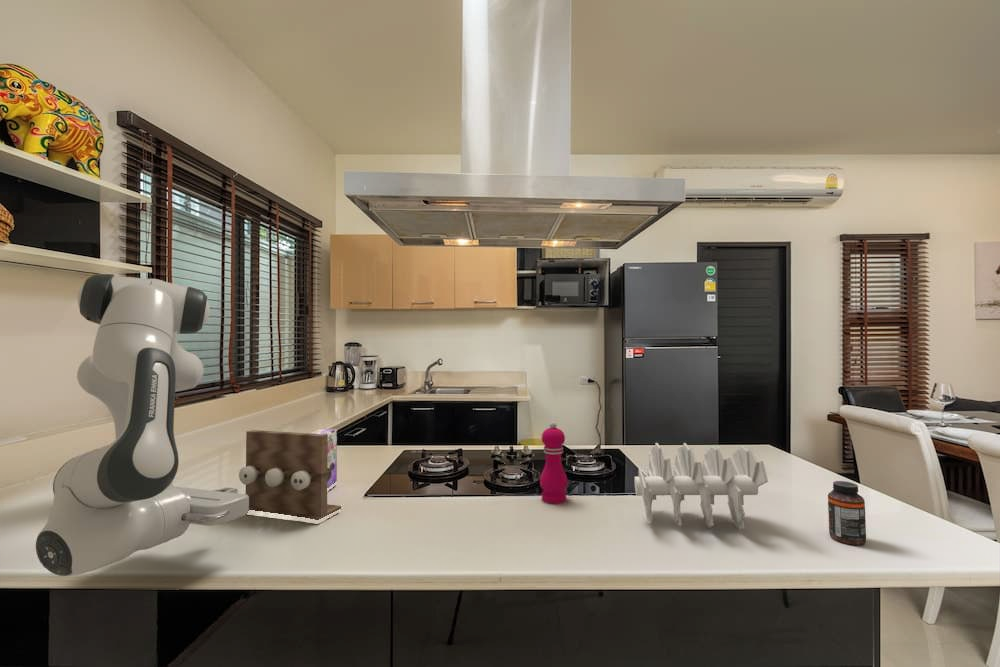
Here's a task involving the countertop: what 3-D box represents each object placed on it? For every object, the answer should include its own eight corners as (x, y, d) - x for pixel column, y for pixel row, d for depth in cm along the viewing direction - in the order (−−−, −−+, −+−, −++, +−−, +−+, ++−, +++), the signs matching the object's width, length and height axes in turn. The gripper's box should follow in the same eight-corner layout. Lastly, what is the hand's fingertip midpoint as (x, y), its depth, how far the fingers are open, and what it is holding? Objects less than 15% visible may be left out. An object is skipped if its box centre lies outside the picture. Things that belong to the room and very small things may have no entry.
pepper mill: (567, 495, 119) (566, 419, 120) (568, 504, 112) (567, 424, 113) (540, 494, 120) (539, 419, 121) (539, 503, 113) (538, 424, 113)
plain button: (264, 486, 102) (265, 468, 103) (283, 479, 108) (283, 462, 108) (279, 487, 101) (279, 470, 101) (296, 480, 106) (297, 464, 107)
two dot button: (290, 489, 100) (290, 471, 100) (308, 482, 105) (308, 465, 105) (305, 491, 99) (305, 472, 99) (322, 483, 104) (322, 466, 104)
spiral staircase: (636, 531, 105) (751, 532, 101) (644, 524, 90) (780, 525, 86) (628, 453, 114) (733, 451, 109) (633, 434, 98) (756, 431, 94)
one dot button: (238, 483, 104) (238, 466, 105) (258, 477, 110) (258, 460, 110) (251, 485, 103) (252, 467, 103) (271, 478, 109) (271, 462, 109)
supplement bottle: (830, 531, 95) (828, 477, 95) (866, 539, 91) (864, 482, 91) (828, 541, 90) (826, 484, 90) (866, 549, 86) (864, 489, 87)
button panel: (241, 514, 107) (242, 432, 108) (268, 503, 114) (269, 426, 115) (318, 524, 100) (318, 437, 101) (341, 512, 108) (341, 430, 109)
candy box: (317, 501, 116) (317, 437, 116) (294, 501, 116) (295, 437, 116) (337, 485, 129) (337, 428, 130) (317, 485, 129) (317, 428, 130)
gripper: (208, 502, 76) (272, 480, 89) (124, 492, 82) (195, 472, 95) (208, 540, 75) (272, 512, 89) (123, 527, 82) (195, 502, 95)
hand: (232, 491), depth 92 cm, fingers closed
